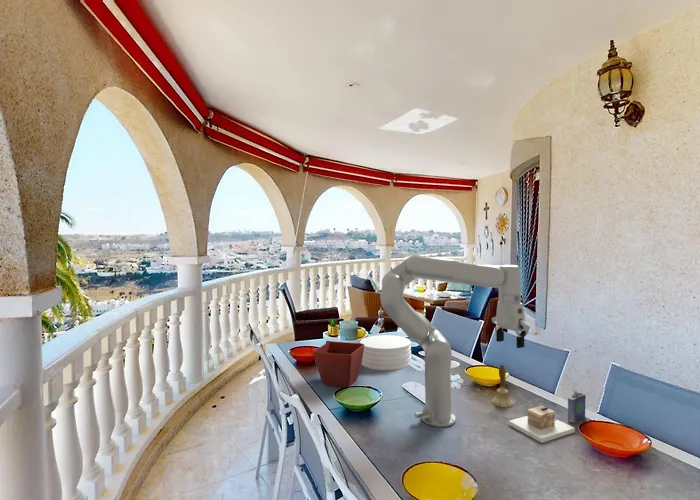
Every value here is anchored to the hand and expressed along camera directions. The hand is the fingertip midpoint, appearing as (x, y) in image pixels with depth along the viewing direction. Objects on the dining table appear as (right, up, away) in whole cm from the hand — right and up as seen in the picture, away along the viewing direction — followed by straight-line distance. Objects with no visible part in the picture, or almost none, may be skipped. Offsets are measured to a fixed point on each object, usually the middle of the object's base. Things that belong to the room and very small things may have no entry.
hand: (510, 344), depth 147 cm
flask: (+24, -28, -1) cm, 37 cm away
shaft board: (+8, -28, -7) cm, 30 cm away
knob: (+8, -27, -7) cm, 29 cm away
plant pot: (-64, -29, +43) cm, 83 cm away
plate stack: (-40, -27, +72) cm, 87 cm away
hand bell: (+3, -28, +15) cm, 32 cm away
